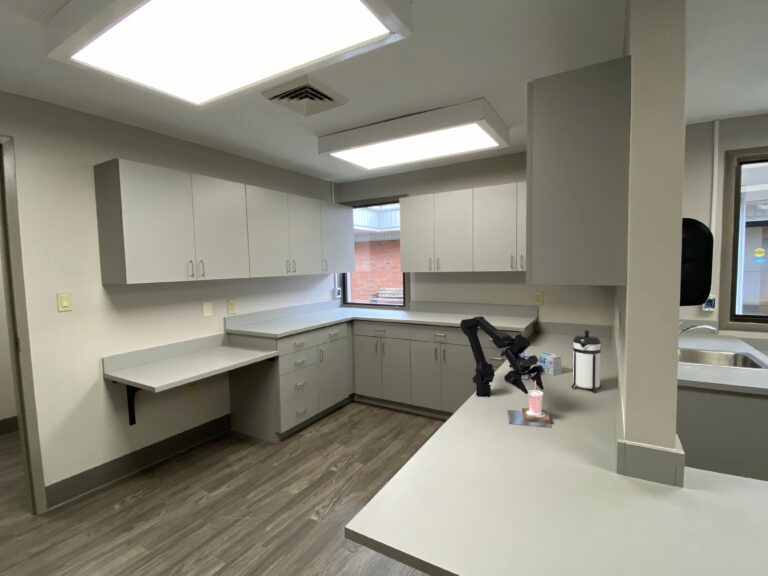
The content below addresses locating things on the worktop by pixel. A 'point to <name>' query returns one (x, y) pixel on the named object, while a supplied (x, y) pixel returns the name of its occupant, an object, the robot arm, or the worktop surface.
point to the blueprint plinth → (519, 419)
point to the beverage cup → (535, 401)
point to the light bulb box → (550, 363)
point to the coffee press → (586, 361)
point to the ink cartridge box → (529, 368)
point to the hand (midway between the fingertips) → (535, 391)
